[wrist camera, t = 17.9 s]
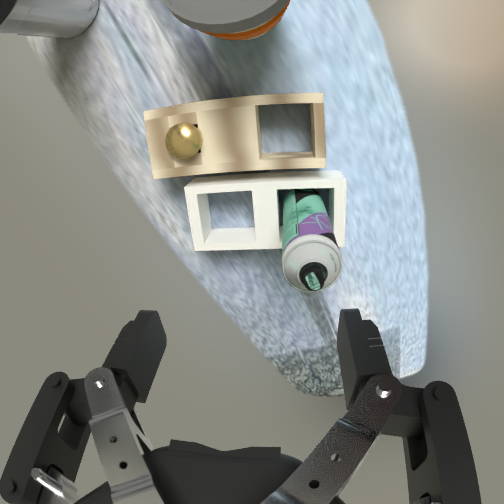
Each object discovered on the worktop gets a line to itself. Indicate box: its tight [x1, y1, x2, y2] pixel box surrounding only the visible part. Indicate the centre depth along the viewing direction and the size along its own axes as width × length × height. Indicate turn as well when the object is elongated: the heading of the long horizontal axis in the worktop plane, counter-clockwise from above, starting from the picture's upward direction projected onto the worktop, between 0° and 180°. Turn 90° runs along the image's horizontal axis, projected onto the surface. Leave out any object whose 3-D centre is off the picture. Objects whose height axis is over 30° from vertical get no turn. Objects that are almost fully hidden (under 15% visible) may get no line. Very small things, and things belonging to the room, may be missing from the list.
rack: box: [184, 171, 346, 251], centre depth 40 cm, size 20×9×5 cm, turn 95°
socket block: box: [143, 93, 326, 179], centre depth 36 cm, size 22×9×5 cm, turn 95°
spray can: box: [282, 188, 342, 293], centre depth 33 cm, size 6×6×20 cm
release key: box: [165, 122, 203, 159], centre depth 36 cm, size 4×4×6 cm
